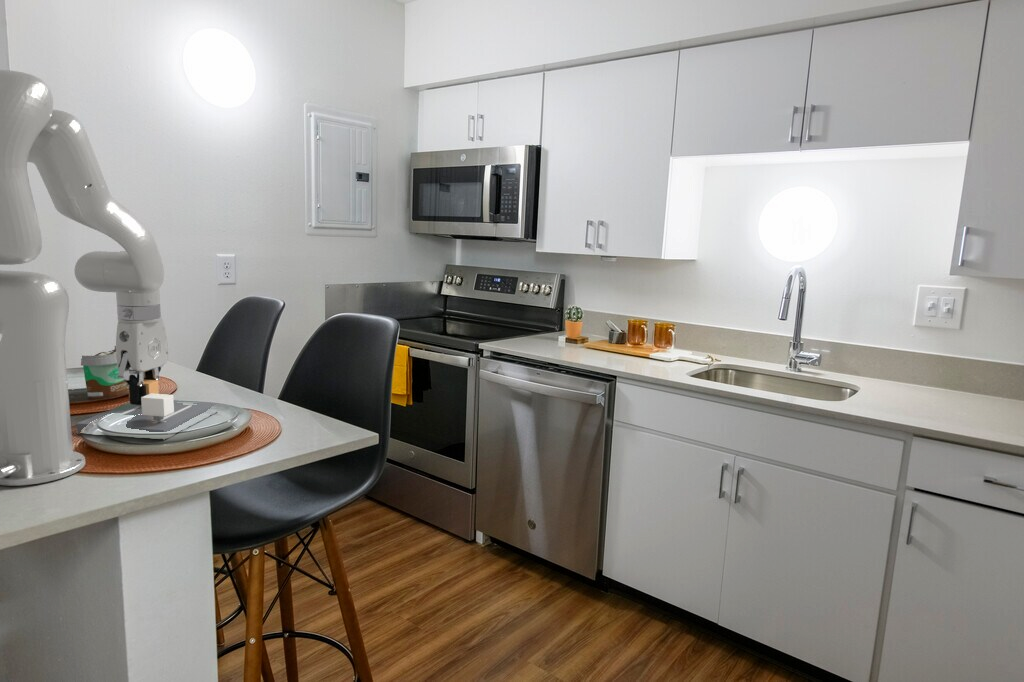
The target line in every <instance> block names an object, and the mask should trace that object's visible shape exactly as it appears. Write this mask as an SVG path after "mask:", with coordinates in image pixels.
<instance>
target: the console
mask: <svg viewBox="0 0 1024 682" xmlns="http://www.w3.org/2000/svg"><path fill="white" fill-rule="evenodd" d="M173 400H174V412H173V413H171V414H169V415H167V416H165V417H164V419H162V420H160V421H158V420H154V418H153V416H150V415H141V414H142V405H133V404H130V401H128V402H126V403H124V404H121V405H118V406H116V407H114V408H111V409H108V410H106V411H104V412H102V413H99V414H97V415H93V416H91V417H89V418H86V419H84V420H82V421H79V422H76V429H77V430H76V431H77V435H78V434H79V435H81V434H80V432H81V430H82V429H83V428H84V427H86V426H87V425H88V424H89V423H90V422H92V421H94V420H96V419H99V418H101V417H103V416H105V415H107V414H111V413H121V414H120V415H134V416H135V415H136V416H135V417H133V418H132V419H131V420H129V421H127V424H126V427H127V428H131V429H139V430H146V431H149V432H167V431H170V430H172V429H174V428H176V427H178V426H179V425H182V424H183V423H185V422H187V421H189V420H190V419H192V418H194V417H196V416H198V415H200V414H202V413H204V412H206V411H207V410H208V409H210V408H211V407H212V406H214V405H216V404H217V405H218V403H215V402H206V401H205V402H203V401H198V402H199V403H193V404H197V405H192V406H189V405H183V403H177V402H185V401H186V402H193V401H191V400H178V399H177V400H175V399H173ZM138 414H140V415H138Z"/></svg>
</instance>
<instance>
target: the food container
mask: <svg viewBox="0 0 1024 682" xmlns="http://www.w3.org/2000/svg"><path fill="white" fill-rule="evenodd" d="M80 366H82V368H83V373H84V380H85V388H86V393H87V400H91V401H92V400H93V401H94V400H98V401H99V400H107V399H114V398H119V397H122V396H125V395H126V394H128V385H127V383H126V381H125V380H124V379H121V378H118V376H117V375H118V371H119V369H118V366H117V360H116V345H114V349H111V350H109V351H101V352H98V353H96V354H95V355H81V358H80Z"/></svg>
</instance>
